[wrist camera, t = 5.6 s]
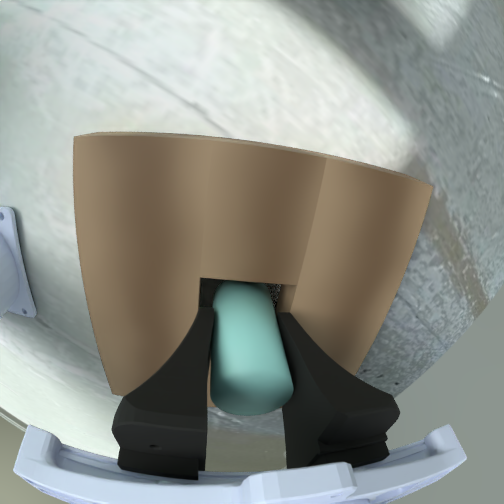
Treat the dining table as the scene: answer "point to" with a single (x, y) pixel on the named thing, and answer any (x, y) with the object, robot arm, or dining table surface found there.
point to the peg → (247, 351)
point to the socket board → (234, 240)
